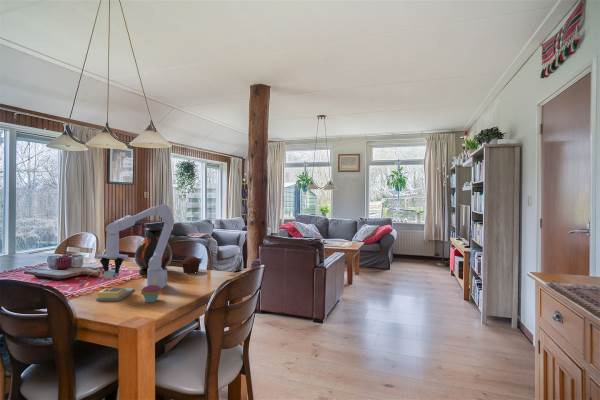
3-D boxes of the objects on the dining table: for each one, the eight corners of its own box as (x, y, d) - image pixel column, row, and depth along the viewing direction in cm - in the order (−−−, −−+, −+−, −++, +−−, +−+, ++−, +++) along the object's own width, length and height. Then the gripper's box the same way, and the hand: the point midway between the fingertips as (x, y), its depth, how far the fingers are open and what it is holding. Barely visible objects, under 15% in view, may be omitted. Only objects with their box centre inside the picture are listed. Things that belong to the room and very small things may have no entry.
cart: (109, 275, 164) (110, 267, 164) (118, 275, 164) (119, 267, 164) (103, 278, 158) (104, 269, 158) (113, 278, 158) (113, 270, 158)
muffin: (180, 271, 205) (181, 255, 205) (198, 269, 211) (198, 254, 211) (183, 275, 195) (183, 259, 195) (201, 273, 200) (202, 257, 200)
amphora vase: (137, 269, 207) (139, 226, 207) (173, 268, 213) (174, 226, 213) (130, 277, 186) (132, 229, 186) (170, 275, 192) (171, 229, 192)
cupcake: (155, 296, 152) (156, 271, 152) (164, 300, 146) (165, 274, 146) (137, 300, 145) (138, 274, 145) (146, 305, 140) (146, 278, 140)
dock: (134, 290, 160) (134, 283, 160) (119, 300, 144) (119, 292, 144) (113, 290, 159) (114, 283, 159) (96, 300, 143) (96, 292, 143)
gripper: (130, 245, 166) (130, 271, 166) (101, 244, 164) (101, 270, 164) (124, 247, 159) (123, 274, 159) (94, 246, 157) (93, 274, 157)
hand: (111, 272), depth 161 cm, fingers closed on cart, 4 cm apart
